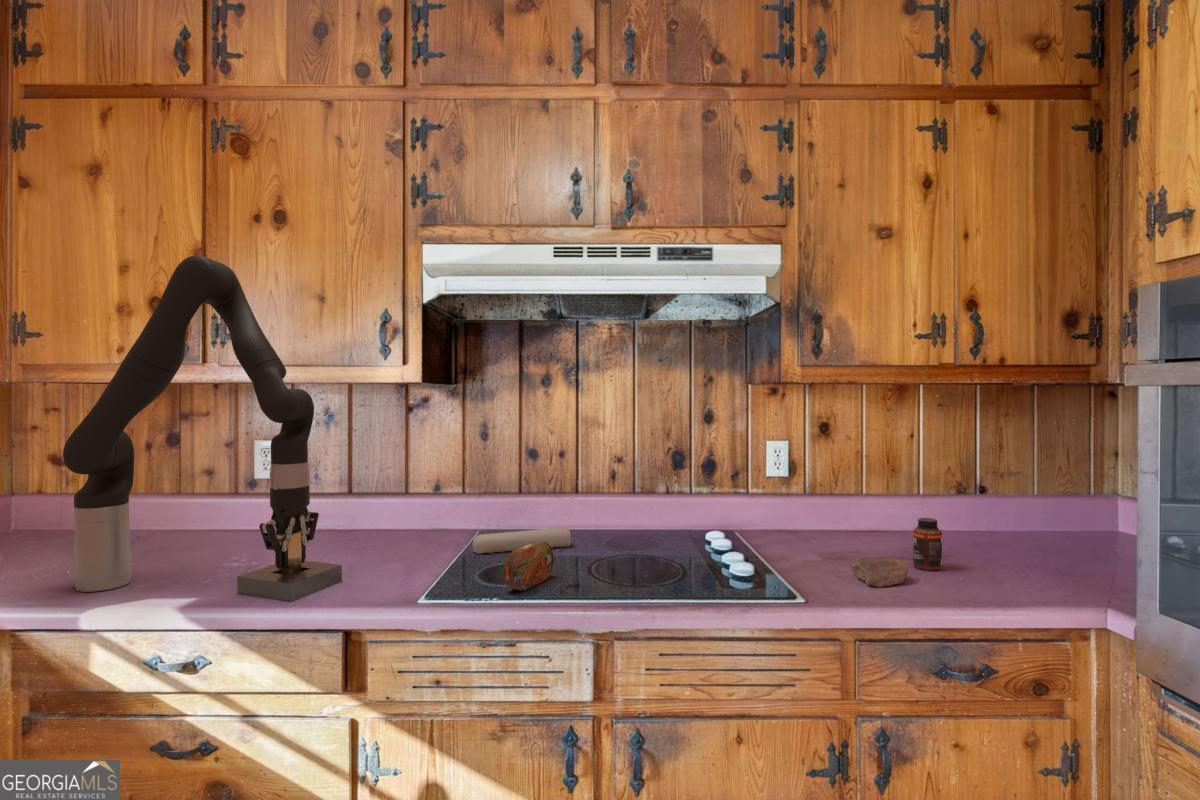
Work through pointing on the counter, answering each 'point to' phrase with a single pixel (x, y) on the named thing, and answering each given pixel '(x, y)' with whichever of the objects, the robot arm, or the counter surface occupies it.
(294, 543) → the pipe stub
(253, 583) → the block
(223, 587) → the counter surface
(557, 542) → the tube
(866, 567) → the rock
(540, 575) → the tin
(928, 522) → the supplement bottle
